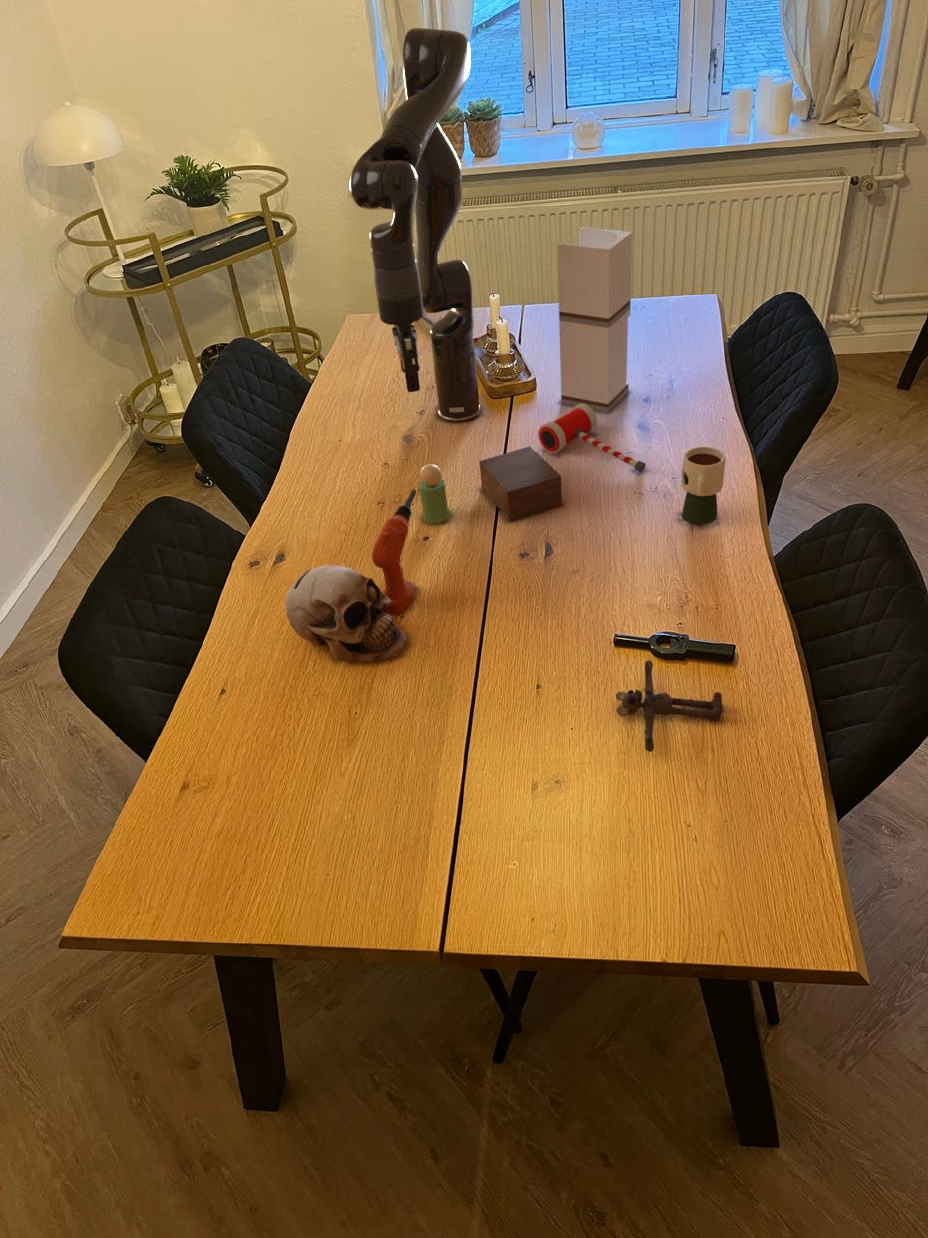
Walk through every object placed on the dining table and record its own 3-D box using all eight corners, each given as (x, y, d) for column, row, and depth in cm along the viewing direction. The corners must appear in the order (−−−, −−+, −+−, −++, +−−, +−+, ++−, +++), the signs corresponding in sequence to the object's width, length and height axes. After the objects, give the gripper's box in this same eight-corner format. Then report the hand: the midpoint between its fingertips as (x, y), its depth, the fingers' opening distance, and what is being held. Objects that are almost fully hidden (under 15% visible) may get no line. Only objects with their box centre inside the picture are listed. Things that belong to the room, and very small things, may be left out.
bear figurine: (727, 747, 122) (617, 734, 124) (721, 768, 125) (613, 756, 126) (718, 655, 136) (619, 645, 137) (713, 676, 138) (616, 666, 140)
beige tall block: (628, 391, 208) (632, 231, 186) (607, 412, 202) (609, 249, 179) (582, 383, 214) (581, 226, 191) (561, 403, 207) (557, 243, 185)
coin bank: (411, 653, 146) (390, 587, 138) (306, 686, 145) (278, 622, 137) (394, 598, 159) (374, 534, 150) (298, 628, 158) (272, 566, 149)
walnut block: (482, 489, 182) (479, 460, 178) (532, 474, 185) (530, 445, 181) (509, 521, 173) (507, 492, 169) (561, 505, 175) (561, 475, 171)
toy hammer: (661, 459, 185) (662, 431, 181) (624, 484, 179) (624, 455, 175) (574, 426, 198) (574, 399, 194) (537, 448, 193) (536, 420, 189)
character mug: (682, 500, 173) (686, 439, 165) (721, 503, 171) (727, 441, 163) (676, 533, 165) (680, 470, 157) (717, 537, 163) (723, 473, 155)
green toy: (420, 514, 177) (412, 463, 170) (443, 507, 179) (436, 456, 171) (428, 526, 174) (421, 475, 167) (452, 519, 175) (446, 467, 168)
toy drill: (437, 543, 167) (425, 478, 156) (405, 618, 155) (389, 553, 144) (412, 541, 168) (398, 475, 157) (378, 615, 156) (360, 550, 145)
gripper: (426, 301, 149) (437, 394, 159) (415, 273, 160) (426, 361, 170) (380, 308, 148) (394, 401, 158) (372, 279, 159) (385, 368, 170)
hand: (410, 380), depth 164 cm, fingers open, 8 cm apart
